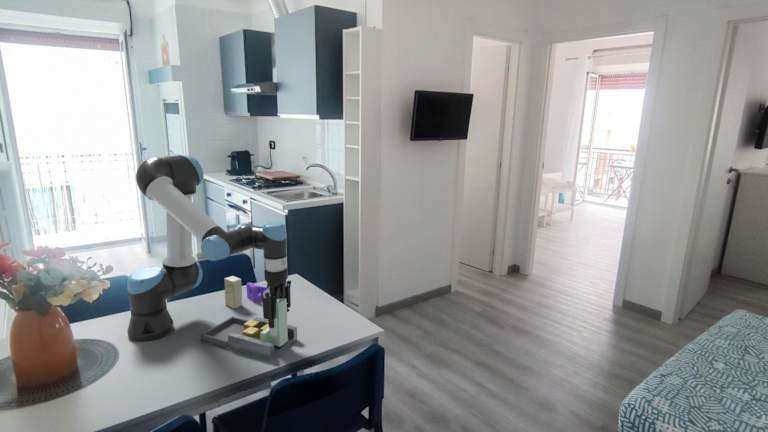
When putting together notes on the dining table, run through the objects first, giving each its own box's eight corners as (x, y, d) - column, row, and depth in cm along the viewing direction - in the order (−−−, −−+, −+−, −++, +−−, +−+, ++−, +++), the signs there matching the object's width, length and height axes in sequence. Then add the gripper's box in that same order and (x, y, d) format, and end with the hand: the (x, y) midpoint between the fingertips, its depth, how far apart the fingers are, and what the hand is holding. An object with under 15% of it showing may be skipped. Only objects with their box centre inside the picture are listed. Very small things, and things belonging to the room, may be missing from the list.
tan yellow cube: (260, 338, 154) (260, 328, 153) (267, 333, 158) (267, 323, 157) (269, 341, 153) (269, 330, 152) (276, 336, 156) (276, 326, 155)
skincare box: (225, 305, 184) (223, 278, 181) (234, 301, 188) (232, 275, 185) (234, 309, 181) (232, 281, 178) (243, 305, 184) (241, 278, 181)
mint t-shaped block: (260, 345, 148) (258, 302, 144) (277, 334, 156) (276, 292, 153) (275, 350, 146) (273, 306, 142) (291, 337, 154) (290, 296, 150)
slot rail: (228, 348, 151) (227, 334, 149) (257, 329, 164) (257, 317, 163) (270, 360, 143) (270, 346, 142) (297, 339, 157) (296, 327, 156)
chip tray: (201, 340, 155) (200, 334, 154) (233, 322, 169) (232, 316, 169) (226, 348, 150) (226, 341, 150) (257, 328, 165) (257, 322, 164)
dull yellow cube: (244, 334, 157) (243, 324, 156) (251, 329, 161) (251, 319, 160) (252, 336, 156) (252, 326, 155) (260, 331, 159) (259, 321, 158)
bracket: (253, 302, 188) (252, 287, 186) (247, 297, 193) (246, 283, 191) (279, 295, 195) (278, 281, 194) (272, 291, 201) (271, 277, 199)
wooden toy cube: (243, 341, 152) (242, 331, 151) (251, 336, 155) (250, 326, 155) (252, 344, 150) (251, 333, 149) (260, 339, 154) (259, 328, 153)
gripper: (268, 278, 135) (270, 346, 141) (300, 262, 151) (301, 323, 156) (249, 274, 138) (252, 341, 143) (282, 259, 154) (284, 319, 159)
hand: (278, 332), depth 150 cm, fingers closed on mint t-shaped block, 4 cm apart
